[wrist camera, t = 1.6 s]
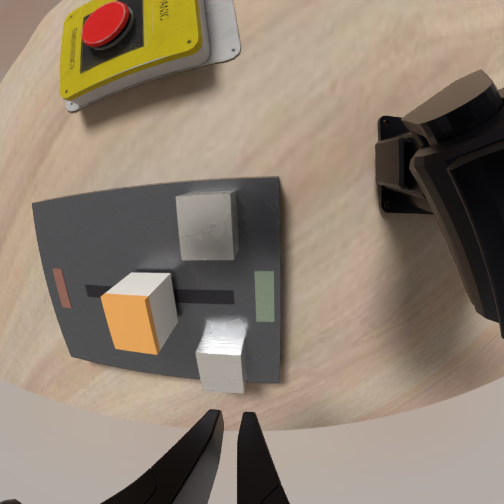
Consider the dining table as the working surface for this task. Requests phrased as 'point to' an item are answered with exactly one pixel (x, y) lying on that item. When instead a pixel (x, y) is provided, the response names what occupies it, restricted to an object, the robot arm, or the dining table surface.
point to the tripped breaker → (141, 312)
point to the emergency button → (140, 44)
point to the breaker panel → (173, 273)
